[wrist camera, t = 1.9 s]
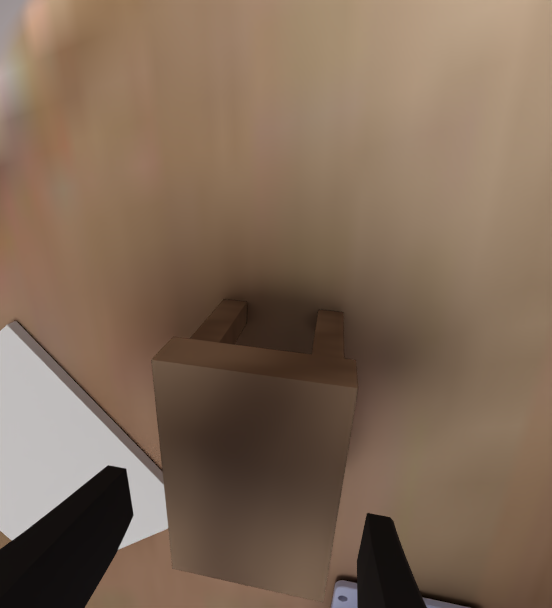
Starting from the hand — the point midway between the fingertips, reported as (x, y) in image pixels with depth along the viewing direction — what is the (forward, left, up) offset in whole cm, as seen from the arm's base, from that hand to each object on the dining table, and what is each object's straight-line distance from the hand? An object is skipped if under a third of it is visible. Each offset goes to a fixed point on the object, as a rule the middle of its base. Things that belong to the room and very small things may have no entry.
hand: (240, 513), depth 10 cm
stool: (0, 0, -6) cm, 6 cm away
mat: (-8, +14, -6) cm, 17 cm away
